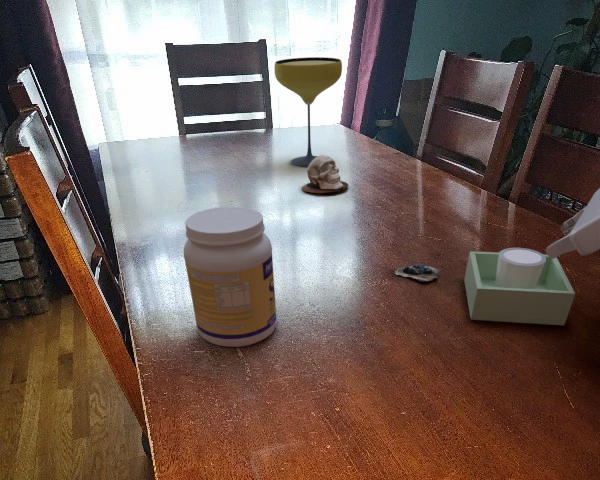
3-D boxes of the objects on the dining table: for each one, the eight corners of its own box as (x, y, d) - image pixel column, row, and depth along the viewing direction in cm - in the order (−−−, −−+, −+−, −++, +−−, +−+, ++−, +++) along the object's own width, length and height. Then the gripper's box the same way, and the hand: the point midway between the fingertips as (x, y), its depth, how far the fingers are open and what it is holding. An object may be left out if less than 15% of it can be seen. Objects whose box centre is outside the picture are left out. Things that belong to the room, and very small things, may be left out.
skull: (361, 183, 129) (342, 156, 121) (337, 217, 130) (316, 192, 122) (331, 171, 137) (311, 145, 129) (309, 204, 138) (287, 180, 130)
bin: (546, 284, 87) (555, 254, 83) (564, 325, 76) (575, 293, 73) (464, 280, 89) (469, 251, 85) (470, 319, 78) (477, 288, 75)
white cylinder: (538, 293, 83) (551, 252, 78) (528, 311, 78) (540, 269, 74) (496, 284, 86) (505, 243, 81) (483, 300, 81) (493, 259, 77)
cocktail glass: (277, 155, 157) (271, 59, 142) (334, 152, 159) (336, 56, 143) (281, 172, 143) (276, 66, 128) (345, 168, 145) (347, 63, 129)
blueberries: (436, 286, 87) (437, 275, 86) (389, 280, 89) (390, 270, 88) (441, 269, 92) (443, 260, 91) (397, 264, 94) (398, 254, 93)
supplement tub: (286, 342, 75) (280, 228, 64) (203, 357, 72) (183, 241, 62) (266, 303, 84) (258, 199, 73) (192, 316, 81) (173, 209, 71)
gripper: (667, 228, 58) (551, 287, 68) (679, 179, 71) (581, 235, 81) (637, 181, 57) (525, 249, 67) (656, 141, 70) (559, 203, 80)
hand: (556, 241), depth 74 cm, fingers open, 8 cm apart
